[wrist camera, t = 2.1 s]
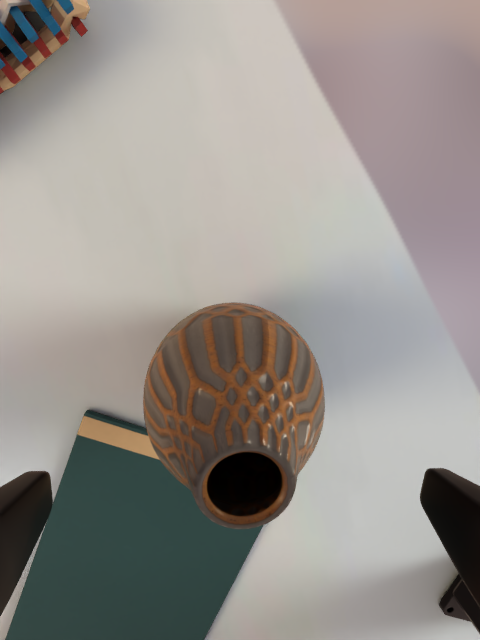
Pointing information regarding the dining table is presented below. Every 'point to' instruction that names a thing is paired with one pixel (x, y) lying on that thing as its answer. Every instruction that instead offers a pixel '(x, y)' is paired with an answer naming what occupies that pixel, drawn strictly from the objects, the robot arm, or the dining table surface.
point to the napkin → (126, 548)
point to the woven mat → (35, 34)
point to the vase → (234, 410)
